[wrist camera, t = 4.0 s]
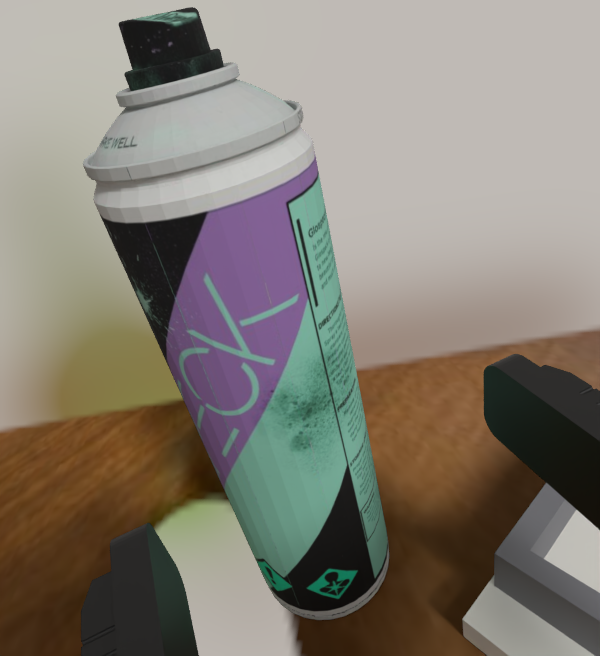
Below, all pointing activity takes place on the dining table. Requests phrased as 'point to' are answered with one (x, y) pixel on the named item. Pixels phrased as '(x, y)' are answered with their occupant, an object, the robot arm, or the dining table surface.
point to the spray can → (246, 307)
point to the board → (542, 586)
